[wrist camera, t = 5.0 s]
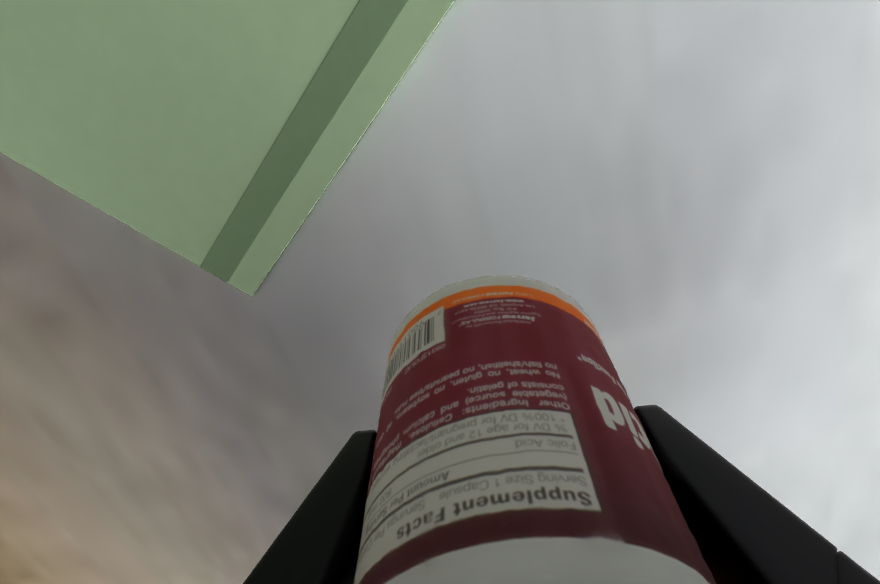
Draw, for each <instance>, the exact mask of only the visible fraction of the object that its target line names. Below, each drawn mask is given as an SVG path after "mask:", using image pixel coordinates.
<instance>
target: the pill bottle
mask: <svg viewBox="0 0 880 584" xmlns="http://www.w3.org/2000/svg"><path fill="white" fill-rule="evenodd" d="M354 584H716V582H715V580H714V577H713V575H712V573H711V571H710V570H709V568H708V566H707V564H706V562H705V561H704V559H703V557H702V555H701V552H700V549H699V547H698V544H697V541H696V540H695V538H694V536H693V535H692V533H691V531H690V530H689V528H688V525H687V523H686V521H685V519H684V517H683V515H682V513H681V511H680V508H679V506H678V504H677V502H676V500H675V497H674V495H673V493H672V491H671V488H670V486H669V484H668V482H667V480H666V478H665V477H664V474H663V472H662V469H661V466H660V464H659V462H658V459H657V458H656V456H655V454H654V452H653V450H652V447H651V445H650V443H649V440H648V438H647V436H646V433H645V431H644V429H643V427H642V424H641V422H640V420H639V417H638V416H637V414H636V413H635V411H634V409H633V407H632V404H631V402H630V399H629V397H628V395H627V392H626V389H625V388H624V386H623V384H622V383H621V381H620V379H619V377H618V374H617V372H616V370H615V368H614V366H613V363H612V361H611V359H610V357H609V355H608V353H607V351H606V349H605V347H604V345H603V343H602V340H601V339H600V336H599V334H598V332H597V330H596V328H595V326H594V324H593V323H592V321H591V319H590V318H589V316H588V315H587V314H586V312H585V311H584V310H583V308H582V307H581V306H580V305H579V304H578V303H577V302H576V301H575V300H573V299H572V298H571V297H569V296H568V295H566V294H565V293H563V292H562V291H560V290H558V289H556V288H554V287H552V286H550V285H548V284H546V283H543V282H540V281H536V280H532V279H528V278H524V277H513V276H485V277H479V278H474V279H468V280H464V281H461V282H457V283H453V284H450V285H448V286H445V287H444V288H442V289H440V290H438V291H437V292H435V293H433V294H432V295H430V296H428V297H427V298H426V299H425V300H423V301H422V302H421V303H420V304H418V305H417V306H416V307H415V308H414V309H413V310H412V311H411V312H410V313H409V314H408V316H407V317H406V318H405V320H404V321H403V322H402V324H401V326H400V327H399V329H398V330H397V332H396V334H395V337H394V340H393V342H392V345H391V349H390V354H389V358H388V365H387V370H386V376H385V383H384V389H383V396H382V403H381V411H380V418H379V426H378V431H377V436H376V440H375V448H374V456H373V463H372V468H371V475H370V481H369V487H368V495H367V500H366V506H365V514H364V521H363V528H362V535H361V542H360V549H359V555H358V562H357V568H356V573H355V579H354Z"/></svg>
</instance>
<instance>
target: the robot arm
mask: <svg viewBox="0 0 880 584" xmlns="http://www.w3.org/2000/svg"><path fill="white" fill-rule="evenodd" d="M634 411H635V413H636V414H637V416H638V417H639V420H640V422H641V424H642V427H643V429H644V431H645V433H646V436H647V438H648V440H649V443H650V445H651V447H652V450H653V452H654V454H655V456H656V458H657V459H658V462H659V464H660V466H661V469H662V472H663V474H664V477H665V478H666V480H667V482H668V484H669V486H670V488H671V491H672V493H673V495H674V497H675V500H676V502H677V504H678V506H679V508H680V511H681V513H682V515H683V517H684V519H685V521H686V523H687V525H688V528H689V530H690V531H691V533H692V535H693V536H694V538H695V540H696V541H697V544H698V547H699V549H700V552H701V555H702V557H703V559H704V561H705V562H706V564H707V566H708V568H709V570H710V571H711V573H712V575H713V577H714V580H715V582H716V584H880V581H879V580H877V579H876V578H875V577H874V576H872V575H871V574H870V573H868V572H867V571H866V570H864V569H863V568H862V567H861V566H859V565H858V564H857V563H856V562H854V561H853V560H852V559H851V558H849V557H848V556H847V555H846V554H844V553H843V552H841V551H839V552H837V548H836V547H835V546H834V545H833V544H831V543H830V542H829V541H828V540H826V539H825V538H824V537H823V536H821V535H820V534H819V533H818V532H816V531H815V530H814V529H813V528H811V527H810V526H809V525H808V524H806V523H805V522H804V521H803V520H801V519H800V518H799V517H798V516H796V515H795V514H794V513H792V512H791V511H790V510H789V509H787V508H786V507H785V506H784V505H782V504H781V503H780V502H779V501H777V500H776V499H775V498H774V497H772V496H771V495H770V494H769V493H767V492H766V491H765V490H764V489H762V488H761V487H760V486H759V485H757V484H756V483H755V482H753V481H752V480H751V479H750V478H748V477H747V476H746V475H745V474H743V473H742V472H741V471H740V470H738V469H737V468H736V467H735V466H733V465H732V464H731V463H730V462H728V461H727V460H726V459H725V458H723V457H722V456H721V455H720V454H718V453H717V452H716V451H714V450H713V449H712V448H711V447H709V446H708V445H707V444H706V443H704V442H703V441H702V440H701V439H699V438H698V437H697V436H696V435H694V434H693V433H692V432H691V431H689V430H688V429H687V428H686V427H684V426H683V425H682V424H681V423H679V422H678V421H677V420H675V419H674V418H673V417H672V416H670V415H669V414H668V413H667V412H665V411H664V410H663V409H662V408H660V407H659V406H657V405H647V406H637V407H635V408H634ZM376 436H377V432H376V431H375V430H367V431H357V432H355V433H354V434H353V435H352V436H351V438H350V439H349V440H348V442H347V443H346V444H345V446H344V447H343V448H342V450H341V451H340V452H339V454H338V455H337V457H336V458H335V459H334V461H333V462H332V463H331V465H330V466H329V467H328V469H327V470H326V472H325V473H324V474H323V476H322V477H321V478H320V480H319V481H318V482H317V484H316V485H315V486H314V488H313V489H312V491H311V492H310V493H309V495H308V496H307V497H306V499H305V500H304V501H303V503H302V504H301V506H300V507H299V508H298V510H297V511H296V512H295V514H294V515H293V516H292V518H291V519H290V521H289V522H288V523H287V525H286V526H285V527H284V529H283V530H282V531H281V533H280V534H279V535H278V537H277V538H276V540H275V541H274V542H273V544H272V545H271V546H270V548H269V549H268V550H267V552H266V553H265V555H264V556H263V557H262V559H261V560H260V561H259V563H258V564H257V565H256V567H255V568H254V569H253V571H252V572H251V574H250V575H249V576H248V578H247V579H246V580H245V582H244V583H243V584H354V579H355V573H356V568H357V562H358V555H359V549H360V542H361V535H362V528H363V521H364V514H365V506H366V500H367V495H368V487H369V481H370V475H371V468H372V463H373V456H374V448H375V440H376Z"/></svg>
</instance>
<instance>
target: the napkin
mask: <svg viewBox="0 0 880 584" xmlns="http://www.w3.org/2000/svg"><path fill="white" fill-rule="evenodd" d="M454 1H455V0H0V152H1V153H3V154H4V155H6V156H8V157H10V158H11V159H13V160H15V161H16V162H18V163H20V164H22V165H23V166H25V167H27V168H29V169H30V170H32V171H34V172H36V173H37V174H39V175H41V176H43V177H44V178H46V179H48V180H50V181H51V182H53V183H55V184H57V185H58V186H60V187H62V188H63V189H65V190H67V191H69V192H70V193H72V194H74V195H76V196H77V197H79V198H81V199H83V200H84V201H86V202H88V203H90V204H91V205H93V206H95V207H97V208H98V209H100V210H102V211H104V212H105V213H107V214H109V215H110V216H112V217H114V218H116V219H117V220H119V221H121V222H123V223H124V224H126V225H128V226H130V227H131V228H133V229H135V230H137V231H138V232H140V233H142V234H144V235H145V236H147V237H149V238H151V239H152V240H154V241H156V242H158V243H159V244H161V245H163V246H164V247H166V248H168V249H170V250H171V251H173V252H175V253H177V254H178V255H180V256H182V257H184V258H185V259H187V260H189V261H191V262H192V263H194V264H196V265H198V266H199V267H200V268H202V269H204V270H206V271H207V272H209V273H211V274H213V275H214V276H216V277H218V278H220V279H221V280H223V281H225V282H227V283H229V284H231V285H232V286H234V287H236V288H238V289H239V290H241V291H243V292H245V293H246V294H248V295H250V296H253V295H254V293H255V292H256V291H257V289H258V288H259V286H260V285H261V283H262V282H263V280H264V279H265V277H266V276H267V274H268V273H269V271H270V270H271V269H272V267H273V266H274V264H275V263H276V261H277V260H278V258H279V257H280V255H281V254H282V252H283V251H284V250H285V248H286V247H287V245H288V244H289V242H290V241H291V239H292V238H293V236H294V235H295V233H296V232H297V231H298V229H299V228H300V226H301V225H302V223H303V222H304V220H305V219H306V217H307V216H308V214H309V213H310V212H311V210H312V209H313V207H314V206H315V204H316V203H317V201H318V200H319V198H320V197H321V195H322V194H323V193H324V191H325V190H326V188H327V187H328V185H329V184H330V182H331V181H332V179H333V178H334V176H335V175H336V174H337V172H338V171H339V169H340V168H341V166H342V165H343V163H344V162H345V160H346V159H347V157H348V156H349V155H350V153H351V152H352V150H353V149H354V147H355V146H356V144H357V143H358V141H359V140H360V138H361V137H362V136H363V134H364V133H365V131H366V130H367V128H368V127H369V125H370V124H371V122H372V121H373V119H374V118H375V117H376V115H377V114H378V112H379V111H380V109H381V108H382V106H383V105H384V103H385V102H386V100H387V99H388V98H389V96H390V95H391V93H392V92H393V90H394V89H395V87H396V86H397V84H398V83H399V81H400V80H401V79H402V77H403V76H404V74H405V73H406V71H407V70H408V68H409V67H410V65H411V64H412V62H413V61H414V60H415V58H416V57H417V55H418V54H419V52H420V51H421V49H422V48H423V46H424V45H425V43H426V42H427V41H428V39H429V38H430V36H431V35H432V33H433V32H434V30H435V29H436V27H437V26H438V24H439V23H440V22H441V20H442V19H443V17H444V16H445V14H446V13H447V11H448V10H449V8H450V7H451V5H452V4H453V3H454Z"/></svg>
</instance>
